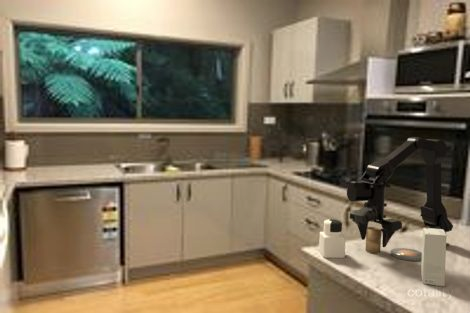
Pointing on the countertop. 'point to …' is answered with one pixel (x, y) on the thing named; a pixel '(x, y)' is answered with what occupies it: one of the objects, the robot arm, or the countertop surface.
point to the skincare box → (433, 256)
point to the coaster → (406, 254)
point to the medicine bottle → (332, 240)
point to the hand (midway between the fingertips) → (373, 243)
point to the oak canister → (373, 240)
